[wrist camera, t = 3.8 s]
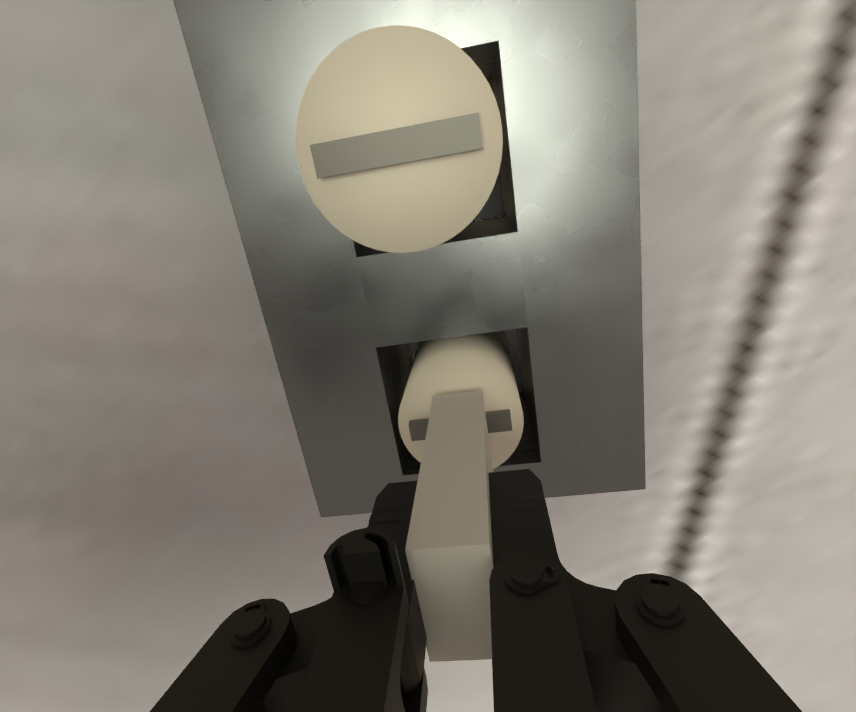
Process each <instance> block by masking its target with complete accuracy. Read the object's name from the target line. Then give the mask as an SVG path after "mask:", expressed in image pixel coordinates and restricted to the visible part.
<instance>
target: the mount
mask: <svg viewBox="0 0 856 712" xmlns="http://www.w3.org/2000/svg"><path fill="white" fill-rule="evenodd" d="M173 1H174V5H175V8H176V12H177V15H178V19H179V22H180V26H181V29H182V33H183V36H184V40H185V43H186V47H187V50H188V54H189V57H190V61H191V64H192V68H193V71H194V75H195V78H196V82H197V85H198V89H199V92H200V96H201V99H202V103H203V106H204V110H205V113H206V117H207V120H208V124H209V127H210V131H211V134H212V138H213V141H214V145H215V148H216V152H217V155H218V159H219V162H220V166H221V169H222V172H223V176H224V179H225V183H226V186H227V190H228V193H229V197H230V200H231V204H232V207H233V211H234V214H235V218H236V221H237V225H238V228H239V232H240V235H241V239H242V242H243V246H244V249H245V253H246V256H247V260H248V263H249V267H250V270H251V274H252V277H253V281H254V284H255V288H256V291H257V295H258V298H259V302H260V305H261V309H262V312H263V316H264V319H265V323H266V326H267V330H268V333H269V337H270V340H271V344H272V347H273V351H274V354H275V358H276V361H277V365H278V368H279V372H280V375H281V379H282V382H283V386H284V389H285V393H286V396H287V400H288V403H289V407H290V410H291V414H292V417H293V421H294V424H295V428H296V431H297V435H298V438H299V442H300V445H301V449H302V452H303V456H304V459H305V463H306V466H307V470H308V473H309V477H310V480H311V484H312V487H313V491H314V494H315V498H316V501H317V505H318V508H319V512H320V515H321V517H328V516H340V515H352V514H363V513H372V510H373V507H374V503H375V500H376V497H377V495H378V494H379V493H380V492H381V491H382V490H383V489H384V488H385V486H386V485H387V484H388V483H396V482H407V481H418V476H419V471H420V465H421V463H420V462H419V461H418V460H417V459H416V458H415V457H413V456H412V454H411V453H410V452H409V451H408V449H407V448H406V446H405V444H404V442H403V440H402V438H401V435H400V431H399V425H398V414H399V408H400V404H401V401H402V398H403V395H404V391H405V388H406V385H407V382H408V378H409V375H410V372H411V369H412V365H411V360H410V354H409V349H408V344H407V343H414V342H421V341H429V340H436V339H444V338H452V337H459V336H467V335H474V334H482V333H489V332H497V331H504V330H512V329H517V336H518V345H519V355H520V364H521V373H522V382H523V391H524V392H519V398H520V402H521V406H522V411H523V418H524V425H523V432H522V436H521V439H520V442H519V444H518V446H517V447H516V449H515V451H514V452H513V453H512V455H511V456H510V457H509V458H508V459H507V460H506V461H505V462H504V463H502V464H501V465H499V466H498V467H496V468H494V469H493V472H500V471H511V470H522V469H530V470H531V471H532V472H533V473H534V474H535V475H536V476H537V477H538V478H539V479H540V480H541V484H542V488H543V493H544V498H548V497H559V496H571V495H582V494H594V493H605V492H617V491H628V490H640V489H645V442H644V391H643V341H642V290H641V239H640V189H639V138H638V87H637V36H636V0H173ZM390 25H402V26H412V27H418V28H422V29H425V30H428V31H431V32H434V33H436V34H438V35H440V36H442V37H444V38H446V39H448V40H449V41H451V42H452V43H454V44H455V45H456V46H458V47H459V48H461V49H462V50H463V51H464V52H465V53H466V54H467V55H468V56H469V57H470V58H471V59H472V60H473V61H474V63H475V64H476V65H477V66H478V68H479V69H480V70H481V71H482V73H483V75H484V76H485V78H486V80H487V81H488V83H489V82H490V87H491V90H492V92H493V94H494V96H495V99H496V102H497V106H498V109H499V112H500V118H501V124H502V136H503V147H502V159H501V164H500V169H499V171H500V180H501V189H502V198H503V208H504V217H501V218H495V219H489V220H483V221H477V222H471V223H470V224H469V225H468V226H467V227H465V228H464V229H463V230H462V231H461V232H460V233H458V234H457V235H455V236H454V237H453V238H451V239H449V240H447V241H445V242H444V243H442V244H440V245H437V246H435V247H432V248H429V249H426V250H421V251H417V252H408V253H393V252H385V251H380V250H376V249H373V248H370V247H366V246H364V245H362V244H360V243H358V242H355V241H354V240H352V239H350V238H349V237H347V236H346V235H344V234H343V233H341V232H340V231H339V230H338V229H337V228H335V227H334V226H333V225H332V224H331V223H330V222H329V221H328V220H327V219H326V218H325V217H324V216H323V214H322V213H321V212H320V210H319V209H318V208H317V206H316V205H315V203H314V202H313V200H312V198H311V196H310V195H309V193H308V191H307V188H306V186H305V184H304V181H303V179H302V175H301V172H300V168H299V165H298V159H297V153H296V139H295V135H296V121H297V116H298V110H299V106H300V103H301V100H302V96H303V93H304V91H305V89H306V87H307V85H308V82H309V80H310V79H311V77H312V75H313V74H314V72H315V71H316V69H317V67H318V66H319V65H320V64H321V63H322V61H323V60H324V59H325V58H326V57H327V55H329V54H330V53H331V52H332V51H333V50H334V49H335V48H336V47H337V46H339V45H340V44H342V43H343V42H345V41H346V40H348V39H349V38H351V37H353V36H355V35H357V34H359V33H361V32H364V31H367V30H370V29H373V28H377V27H383V26H390Z"/></svg>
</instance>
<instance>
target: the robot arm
mask: <svg viewBox="0 0 856 712" xmlns="http://www.w3.org/2000/svg"><path fill="white" fill-rule="evenodd" d="M324 558H325V562H326V565H327V569H328V572H329V576H330V579H331V582H332V586H333V589H334V593H333V596H332V597H331V598H330V599H328V600H327V601H324V602H322V603H320V604H317V605H315V606H312V607H309V608H306V609H303V610H300V611H297V612H294V613H291V614H290V612H289V610H288V609H287V607H286V606H285V604H284V603H283V602H281V601H278V600H276V599H260V600H257V601H254V602H251V603H248V604H246V605H244V606H243V607H241V608H239V609H238V610H236V611H234V612H233V613H232V614H231V615H230V616H229V617H228V618H227V619H226V620H225V621H224V622H223V623H222V624H221V625H220V626H219V627H218V629H217V630H216V631H215V632H214V633H213V635H212V636H211V637H210V638H209V640H208V641H207V642H206V643H205V645H204V646H203V647H202V648H201V649H200V651H199V652H198V653H197V654H196V656H195V657H194V658H193V659H192V660H191V662H190V663H189V664H188V665H187V667H186V668H185V669H184V670H183V672H182V673H181V674H180V675H179V676H178V678H177V679H176V680H175V681H174V683H173V684H172V685H171V686H170V688H169V689H168V690H167V691H166V692H165V694H164V695H163V696H162V697H161V699H160V700H159V701H158V702H157V703H156V705H155V706H154V707H153V708H152V710H151V711H150V712H426V706H427V694H428V688H427V679H426V674H425V670H424V659H425V649H426V647H427V651H428V656H429V660H430V661H455V660H480V659H492V668H493V694H494V712H802V711H801V710H800V709H799V708H798V707H797V705H796V704H795V703H794V702H793V701H792V700H791V699H790V697H789V696H788V695H787V694H786V693H785V692H784V691H783V690H782V688H781V687H780V686H779V685H778V684H777V683H776V682H775V680H774V679H773V678H772V677H771V676H770V675H769V674H768V672H767V671H766V670H765V669H764V668H763V667H762V666H761V665H760V663H759V662H758V661H757V660H756V659H755V658H754V657H753V655H752V654H751V653H750V652H749V651H748V650H747V649H746V647H745V646H744V645H743V644H742V643H741V642H740V641H739V640H738V638H737V637H736V636H735V635H734V634H733V633H732V632H731V630H730V629H729V628H728V627H727V626H726V625H725V624H724V622H723V621H722V620H721V619H720V618H719V617H718V616H717V615H716V613H715V612H714V611H713V610H712V609H711V608H710V607H709V605H708V604H707V603H706V602H705V601H704V600H703V599H702V597H701V596H700V595H699V594H697V593H696V592H695V591H694V590H693V589H691V588H690V587H689V586H688V585H687V584H685V583H683V582H681V581H678V580H676V579H674V578H672V577H670V576H664V575H659V574H654V573H650V574H639V575H635V576H633V577H631V578H629V579H626V580H624V581H623V583H622V584H621V585H620V586H619V588H618V589H617V590H611V589H606V588H601V587H597V586H593V585H590V584H586V583H584V582H582V581H580V580H578V579H576V578H575V577H574V576H572V575H571V574H570V573H568V572H567V571H566V569H565V568H564V567H563V566H562V564H561V563H560V560H559V558H558V555H557V550H556V546H555V541H554V537H553V533H552V528H551V524H550V519H549V515H548V511H547V506H546V502H545V498H544V493H543V488H542V484H541V480H540V479H539V478H538V477H537V476H536V475H535V474H534V473H533V472H532V471H531V470H530V469H522V470H511V471H500V472H493V464H492V457H491V449H490V442H489V435H488V428H487V421H486V413H485V406H484V399H483V392H482V390H481V391H473V392H464V393H455V394H447V395H438V396H433V399H432V405H431V410H430V416H429V421H428V427H427V432H426V438H425V443H424V449H423V454H422V460H421V465H420V471H419V476H418V481H407V482H396V483H388V484H387V485H386V486H385V488H384V489H383V490H382V491H381V492H380V493H379V494H378V495H377V497H376V500H375V503H374V507H373V510H372V514H371V517H370V520H369V526H368V527H367V528H364V529H359V530H354V531H352V532H350V533H347V534H345V535H343V536H341V537H340V538H339V539H337V540H336V541H335V542H334V543H332V544H331V545H330V546H329V548H328V550H327V551H326V553H325V554H324Z"/></svg>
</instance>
